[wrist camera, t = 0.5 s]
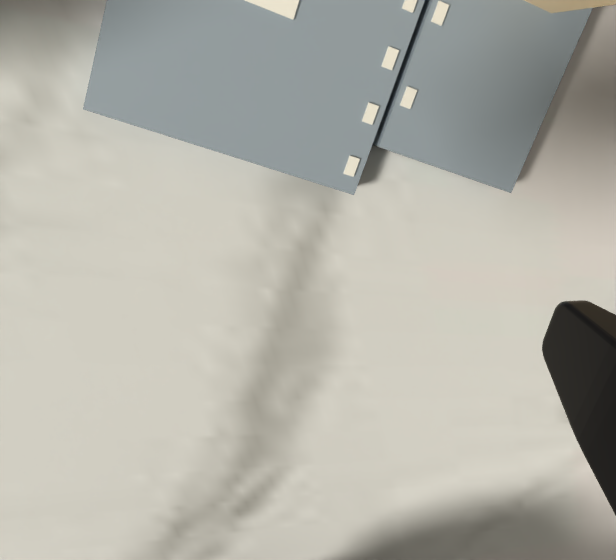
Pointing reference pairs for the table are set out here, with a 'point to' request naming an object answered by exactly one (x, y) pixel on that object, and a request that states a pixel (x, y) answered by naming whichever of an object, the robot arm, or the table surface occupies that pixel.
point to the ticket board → (256, 77)
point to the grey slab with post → (481, 83)
